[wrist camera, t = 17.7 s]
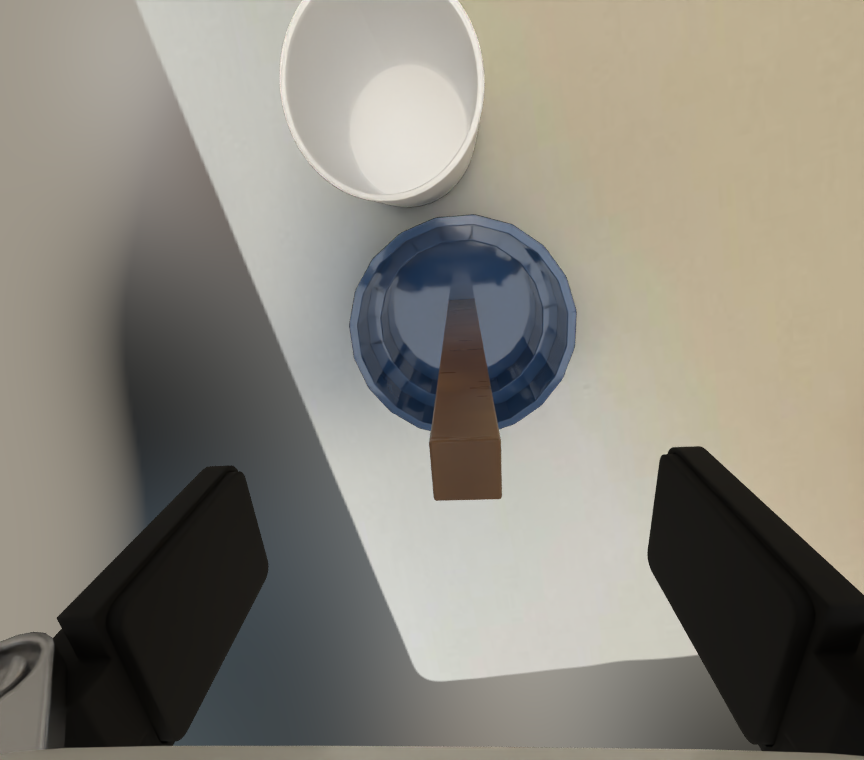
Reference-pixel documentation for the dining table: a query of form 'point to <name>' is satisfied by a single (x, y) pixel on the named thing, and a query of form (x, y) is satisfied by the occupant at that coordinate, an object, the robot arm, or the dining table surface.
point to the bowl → (496, 307)
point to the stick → (464, 414)
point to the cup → (384, 95)
